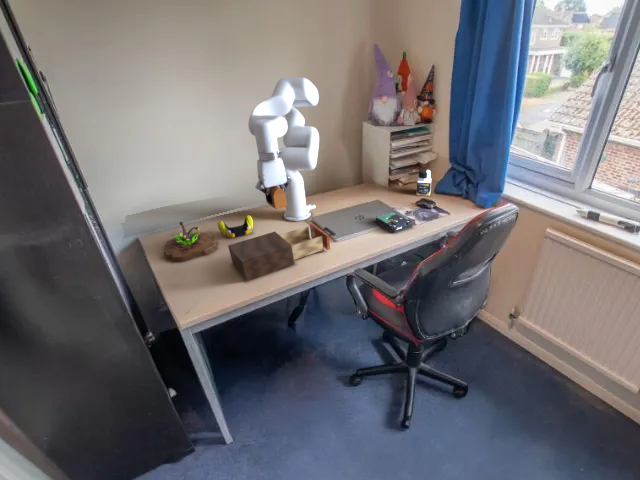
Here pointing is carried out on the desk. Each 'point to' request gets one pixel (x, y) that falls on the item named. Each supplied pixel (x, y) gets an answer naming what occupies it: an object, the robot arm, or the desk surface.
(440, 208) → the desk surface
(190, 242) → the plant
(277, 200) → the brown rounded block
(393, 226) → the disk drive
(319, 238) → the drawer
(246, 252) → the cabinet
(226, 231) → the gaming controller
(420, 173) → the medicine bottle
